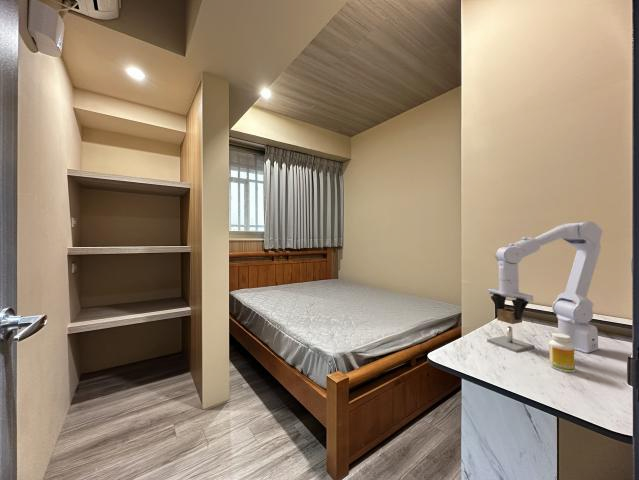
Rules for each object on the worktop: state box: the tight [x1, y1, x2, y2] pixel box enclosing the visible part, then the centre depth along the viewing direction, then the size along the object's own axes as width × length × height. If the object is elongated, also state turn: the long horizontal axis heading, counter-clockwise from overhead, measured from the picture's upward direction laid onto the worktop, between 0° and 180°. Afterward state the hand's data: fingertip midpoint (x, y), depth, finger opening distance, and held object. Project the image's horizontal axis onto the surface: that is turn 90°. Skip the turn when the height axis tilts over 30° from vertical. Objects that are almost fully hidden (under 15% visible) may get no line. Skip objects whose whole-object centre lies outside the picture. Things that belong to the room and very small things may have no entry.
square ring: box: [496, 307, 523, 325], centre depth 92 cm, size 5×5×4 cm
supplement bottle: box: [548, 332, 576, 373], centre depth 74 cm, size 5×5×10 cm
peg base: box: [486, 325, 536, 353], centre depth 92 cm, size 10×10×7 cm
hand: (509, 317), depth 92 cm, fingers closed on square ring, 5 cm apart
